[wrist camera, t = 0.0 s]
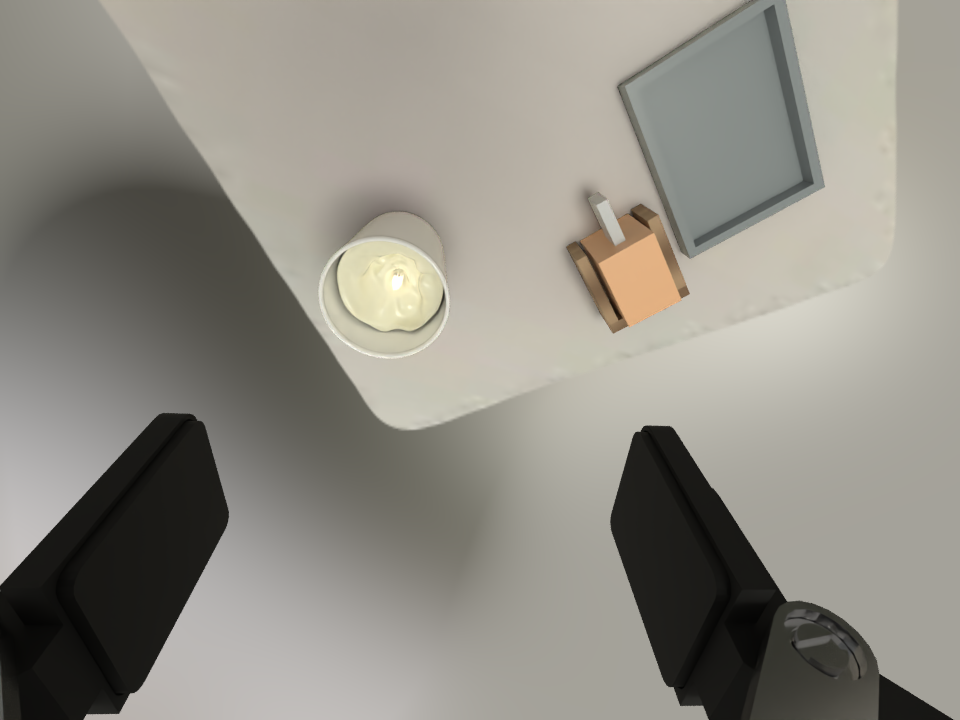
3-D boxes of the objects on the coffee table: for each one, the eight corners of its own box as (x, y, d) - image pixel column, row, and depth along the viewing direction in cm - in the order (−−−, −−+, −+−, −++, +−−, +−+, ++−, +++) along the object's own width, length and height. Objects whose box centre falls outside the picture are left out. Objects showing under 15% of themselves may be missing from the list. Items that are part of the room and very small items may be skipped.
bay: (566, 246, 46) (576, 261, 42) (640, 203, 44) (658, 214, 41) (600, 314, 50) (613, 333, 46) (671, 277, 48) (689, 293, 44)
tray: (617, 86, 40) (624, 86, 38) (767, -10, 37) (782, -15, 35) (681, 252, 47) (690, 258, 45) (810, 183, 44) (824, 186, 42)
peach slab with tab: (561, 204, 44) (578, 222, 38) (611, 175, 43) (636, 188, 37) (608, 297, 49) (629, 327, 43) (653, 273, 48) (681, 300, 42)
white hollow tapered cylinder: (454, 299, 49) (453, 356, 38) (358, 303, 48) (330, 362, 38) (448, 200, 44) (445, 234, 33) (341, 204, 43) (304, 240, 33)
